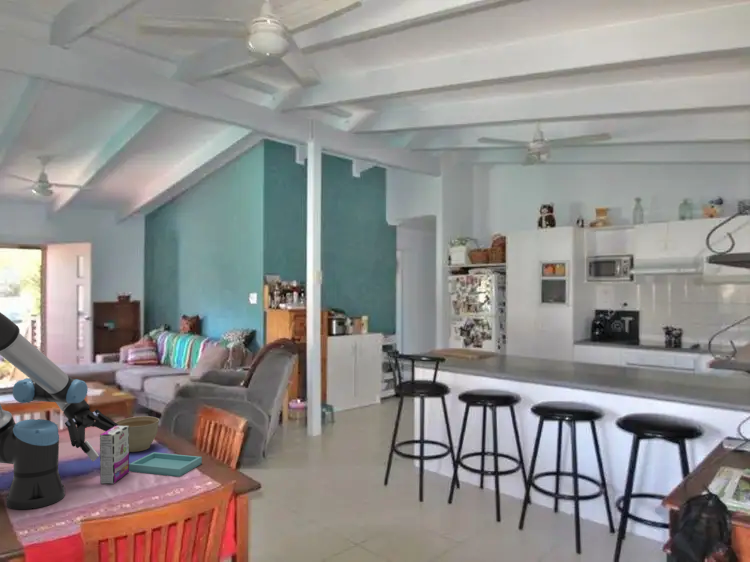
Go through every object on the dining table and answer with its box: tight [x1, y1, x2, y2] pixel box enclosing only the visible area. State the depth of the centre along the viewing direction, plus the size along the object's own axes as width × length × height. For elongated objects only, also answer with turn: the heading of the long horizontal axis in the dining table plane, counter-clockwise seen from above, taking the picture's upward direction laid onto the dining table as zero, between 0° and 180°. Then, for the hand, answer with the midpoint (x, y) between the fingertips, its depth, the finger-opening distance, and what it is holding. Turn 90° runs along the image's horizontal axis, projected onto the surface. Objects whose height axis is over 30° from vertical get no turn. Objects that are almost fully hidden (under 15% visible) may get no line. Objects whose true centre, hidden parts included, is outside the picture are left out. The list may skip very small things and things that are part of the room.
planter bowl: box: [115, 416, 160, 453], centre depth 222 cm, size 16×16×11 cm
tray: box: [129, 451, 203, 478], centre depth 201 cm, size 14×20×2 cm
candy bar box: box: [99, 426, 130, 485], centre depth 190 cm, size 11×5×16 cm, turn 179°
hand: (110, 452), depth 191 cm, fingers open, 13 cm apart
